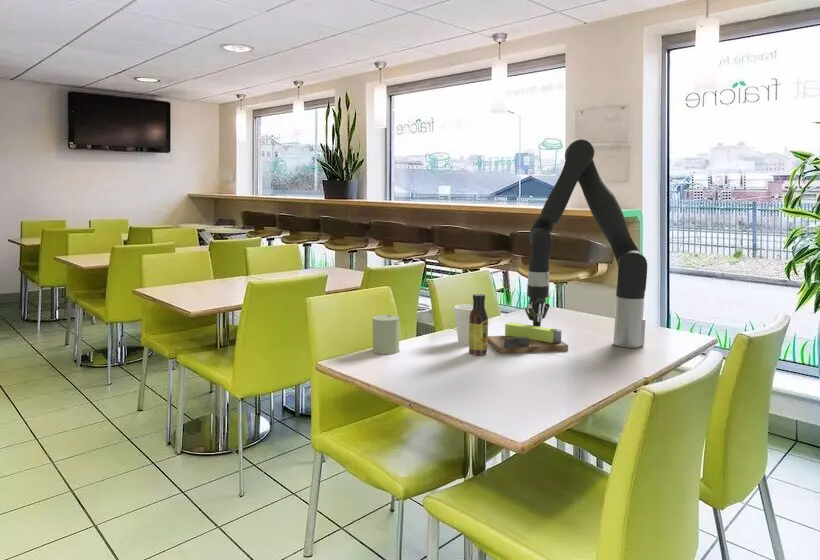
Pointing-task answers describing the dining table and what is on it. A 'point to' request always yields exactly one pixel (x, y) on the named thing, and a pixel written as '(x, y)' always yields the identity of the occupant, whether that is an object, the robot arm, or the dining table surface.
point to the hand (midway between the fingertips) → (536, 331)
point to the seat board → (530, 349)
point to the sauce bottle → (478, 326)
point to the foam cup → (463, 322)
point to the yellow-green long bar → (533, 332)
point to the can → (385, 334)
